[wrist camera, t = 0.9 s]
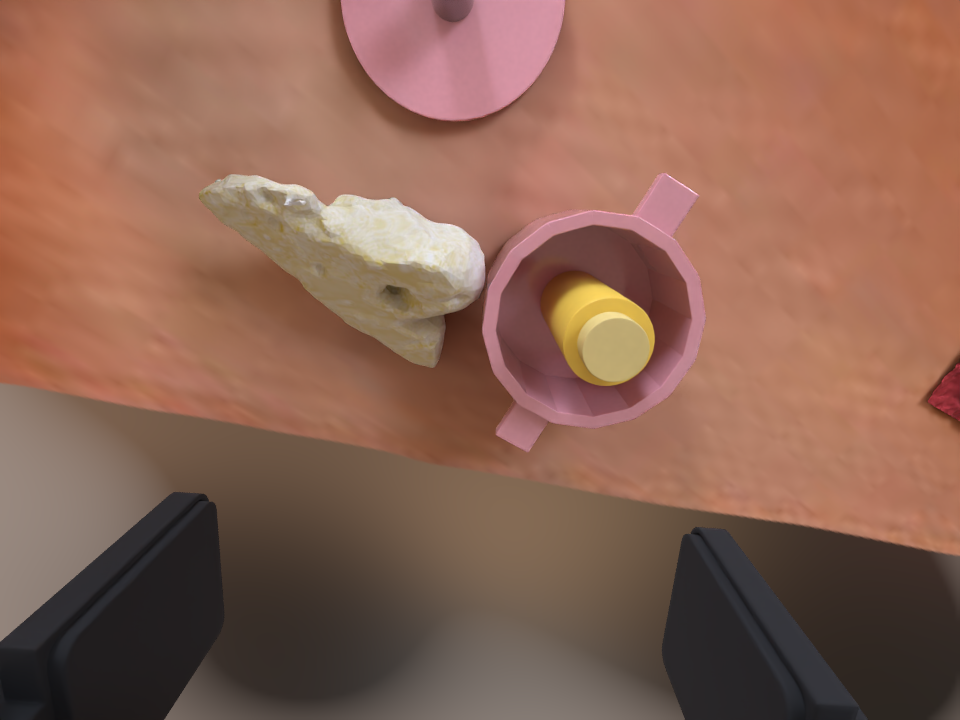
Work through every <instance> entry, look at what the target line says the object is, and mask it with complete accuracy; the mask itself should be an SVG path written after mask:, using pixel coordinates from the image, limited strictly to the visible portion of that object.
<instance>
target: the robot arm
mask: <svg viewBox="0 0 960 720" xmlns="http://www.w3.org/2000/svg"><path fill="white" fill-rule="evenodd" d="M223 622H224V603H223V590H222V577H221V563H220V549H219V536H218V523H217V509H216V505H215V504H214V503H213V502H209V500H208V498H207V496H206V495H205V494H198V493H183V492H182V493H181V492H174V493H172V494H170V495H169V496H168V497H167V498H166V499H164V500H163V501H162V502H161V503H160V504H159V505H158V506H156V507H155V508H154V509H153V510H152V511H151V512H149V513H148V514H147V515H146V516H145V517H144V518H142V519H141V520H140V521H139V522H138V523H137V524H136V525H135V526H133V527H132V528H131V529H130V530H129V531H128V532H126V533H125V534H124V535H123V536H122V537H121V538H119V540H117V541H116V542H115V543H114V544H113V545H111V546H110V547H109V548H108V549H107V550H106V551H104V552H103V553H102V554H101V555H100V556H99V557H98V558H96V559H95V560H94V561H93V562H92V563H91V564H89V565H88V566H87V567H86V568H85V569H84V570H83V571H81V572H80V573H79V574H78V575H77V576H76V577H75V578H74V579H72V580H71V581H70V582H69V583H68V584H67V585H65V586H64V587H63V588H62V589H61V590H60V591H58V592H57V593H56V594H55V595H54V596H53V597H52V598H50V599H49V600H48V601H47V602H46V603H45V604H43V605H42V606H41V607H40V608H39V609H38V610H37V611H35V612H34V613H33V614H32V615H31V616H30V617H29V618H27V619H26V620H25V621H24V622H23V623H22V624H20V626H18V627H17V628H16V629H15V630H14V631H12V632H11V633H10V634H9V635H8V636H7V637H5V638H4V639H3V640H2V641H1V642H0V720H164V719H165V717H166V716H167V714H168V713H169V711H170V710H171V708H172V707H173V705H174V703H175V702H176V700H177V699H178V697H179V696H180V694H181V693H182V691H183V690H184V688H185V686H186V685H187V683H188V682H189V680H190V679H191V677H192V676H193V674H194V673H195V671H196V670H197V668H198V666H199V665H200V663H201V662H202V660H203V659H204V657H205V656H206V654H207V653H208V651H209V650H210V648H211V646H212V645H213V643H214V642H215V640H216V639H217V637H218V635H219V633H220V632H221V629H222V626H223ZM662 656H663V662H664V665H665V668H666V671H667V674H668V676H669V679H670V681H671V684H672V686H673V689H674V692H675V694H676V697H677V699H678V702H679V704H680V707H681V710H682V712H683V715H684V718H685V720H868V719H867V718H866V716H865V715H864V714H863V712H862V711H861V710H860V708H859V706H858V704H857V703H856V702H855V700H854V699H853V698H852V696H851V695H850V694H849V692H848V691H847V690H846V688H845V687H844V686H843V684H842V683H841V682H840V680H839V679H838V678H837V676H836V675H835V674H834V673H833V671H832V670H831V668H830V667H829V666H828V664H827V663H826V662H825V661H824V659H823V658H822V656H821V655H820V654H819V652H818V651H817V650H816V648H815V647H814V646H813V645H812V643H811V642H810V640H809V639H808V638H807V637H806V635H805V634H804V632H803V631H802V630H801V629H800V627H799V626H798V624H797V623H796V622H795V620H794V619H793V618H792V616H791V615H790V614H789V612H788V611H787V610H786V608H785V607H784V606H783V605H782V603H781V602H780V601H779V599H778V598H777V596H776V595H775V594H774V593H773V591H772V590H771V588H770V587H769V586H768V584H767V583H766V582H765V581H764V579H763V578H762V576H761V575H760V574H759V573H758V571H757V570H756V569H755V567H754V566H753V564H752V563H751V562H750V560H749V559H748V558H747V557H746V555H745V554H744V552H743V551H742V550H741V548H740V547H739V546H738V544H737V543H736V542H735V540H734V539H733V538H732V537H731V535H730V534H729V532H727V531H726V530H725V529H715V528H701V527H695V528H694V529H693V530H692V532H691V534H685V535H684V536H683V538H682V542H681V547H680V553H679V558H678V563H677V569H676V574H675V579H674V585H673V590H672V595H671V601H670V606H669V612H668V617H667V622H666V628H665V633H664V639H663V644H662Z"/></svg>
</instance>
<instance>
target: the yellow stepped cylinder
mask: <svg viewBox="0 0 960 720" xmlns="http://www.w3.org/2000/svg"><path fill="white" fill-rule="evenodd" d="M541 312H542V315H543V318H544V320H545V322H546V323H547V325H548V327H549V329H550V331H551V333H552V335H553V337H554V339H555V341H556V342H557V344H558V346H559V348H560V350H561V352H562V354H563V356H564V358H565V360H566V361H567V363H568V365H569V367H570V368H571V370H572V371H573V372H574V373H575V374H576V375H577V376H578V377H580V378H581V379H583V380H584V381H586V382H589V383H591V384H595V385H600V386H612V385H618V384H621V383H624V382H626V381H628V380H630V379H632V378H633V377H635V376H636V375H637V374H639V373H640V372H641V371H642V370H643V368H644V367H645V366H646V365H647V363H648V361H649V360H650V357H651V355H652V352H653V349H654V343H655V335H654V329H653V325H652V323H651V320H650V319H649V317H648V315H647V314H646V313H645V311H644V310H643V309H642V308H640V307H639V306H638V305H636V304H635V303H633V302H632V301H630V300H629V299H627V298H626V297H624V296H623V295H621V294H619V293H618V292H616V291H615V290H613V289H612V288H610V287H609V286H607V285H605V284H604V283H602V282H601V281H599V280H598V279H596V278H595V277H593V276H591V275H590V274H588V273H585V272H582V271H567V272H564V273H561V274H559V275H557V276H556V277H554V278H553V279H552V280H551V281H550V282H549V283H548V284H547V286H546V287H545V289H544V291H543V293H542V297H541Z"/></svg>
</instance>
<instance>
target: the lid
mask: <svg viewBox="0 0 960 720" xmlns="http://www.w3.org/2000/svg"><path fill="white" fill-rule="evenodd" d="M341 8H342V16H343V20H344V24H345V29H346V32H347V35H348V38H349V41H350V44H351V46H352V48H353V51H354V53H355V55H356V57H357V59H358V61H359V62H360V64H361V65H362V67H363V68H364V70H365V72H366V73H367V75H368V76H369V77H370V78H371V79H372V80H373V82H374V83H375V84H376V85H377V86H378V88H380V89H381V90H382V91H383V92H384V93H385V94H386V95H387V96H388V97H389V98H391V99H392V100H393V101H395V102H396V103H398V104H399V105H400V106H402V107H404V108H406V109H408V110H409V111H411V112H413V113H416V114H418V115H421V116H424V117H427V118H431V119H435V120H440V121H453V122H456V121H469V120H473V119H478V118H482V117H485V116H488V115H490V114H493V113H495V112H497V111H499V110H501V109H503V108H505V107H507V106H508V105H510V104H511V103H512V102H514V101H515V100H517V99H518V98H519V97H520V96H521V95H522V94H523V93H525V92H526V91H527V90H528V89H529V88H530V87H531V85H532V84H533V83H534V82H535V81H536V79H537V78H538V77H539V76H540V74H541V72H542V71H543V69H544V68H545V66H546V65H547V63H548V61H549V59H550V57H551V55H552V52H553V50H554V48H555V46H556V43H557V40H558V37H559V34H560V31H561V26H562V21H563V17H564V8H565V0H341Z"/></svg>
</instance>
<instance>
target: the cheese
mask: <svg viewBox="0 0 960 720" xmlns="http://www.w3.org/2000/svg"><path fill="white" fill-rule="evenodd" d="M199 199H200V200H201V202H202V203H203V204H204V205H205V206H206V207H207V208H208V209H209V210H210V211H211V212H212V213H213V214H214V215H215V216H216V217H217V218H218V219H219V220H220V221H221V222H222V223H223V224H224V225H226V226H228V227H230V228H232V229H233V230H235V231H237V232H238V233H239V234H240V235H241V236H242V237H243V238H245V239H246V240H247V241H248V242H250V243H251V244H253V245H254V246H255V247H257V248H258V249H260V250H261V251H262V252H264V253H265V254H266V255H267V256H268V257H269V258H270V259H271V260H273V261H274V262H275V263H277V264H278V265H279V266H280V267H281V268H282V269H283V270H285V271H286V272H287V273H289V274H291V275H292V276H294V277H295V278H297V279H299V281H300V282H301V283H302V285H303V286H304V288H305V289H306V290H307V291H308V292H309V293H311V294H312V296H313V297H314V298H315V299H317V300H319V301H320V302H322V303H323V304H324V305H325V306H326V307H327V308H329V309H330V310H331V311H332V312H334V313H335V314H337V315H338V316H339V317H341V318H342V319H343V321H344V322H345V323H347V324H348V325H350V326H352V327H354V328H355V329H357V330H359V331H360V332H362V333H365V334H368V335H370V336H372V337H374V338H376V339H377V340H378V341H380V342H381V343H382V344H384V345H385V346H387V347H388V348H390V349H392V351H393V352H395V353H397V354H399V355H400V356H402V357H403V358H405V359H406V360H408V361H410V362H413V363H415V364H417V365H424V366H427V367H430V368H433V367H435V366H436V365H437V362H438V360H439V358H440V355H441V351H442V347H443V342H444V334H445V329H446V324H445V319H444V314H447V313H452V312H456V311H459V310H462V309H464V308H466V307H467V306H468V305H470V304H471V303H472V302H474V301H476V300H477V299H479V298H480V294H481V292H482V290H483V288H484V284H485V263H484V254H483V253H482V251H481V249H480V245H479V244H478V242H477V241H476V240H475V239H474V238H472V237H471V236H470V235H469V234H468V233H466V232H465V231H464V230H463V229H461V228H459V227H457V226H454V225H451V224H443V223H435V222H432V221H429V220H427V219H426V218H424V217H423V216H422V215H421V214H419V213H418V212H416V211H415V210H413V209H412V208H410V207H407V206H403V204H402V203H401V202H400V201H399V200H397V199H396V198H395V197H392V198H389V199H382V200H372V199H366V198H362V197H359V196H356V195H340V196H339V197H337V198H336V200H335V202H334V203H332V204H331V205H329V206H326V205H325V204H323V203H321V202H320V201H319V200H318V199H317V198H316V196H315V194H314V193H313V192H312V191H310V190H308V189H306V188H305V187H302V186H300V185H294V184H291V185H287V184H279V183H276V182H274V181H271V180H269V179H266V178H264V177H260V176H257V175H253V176H245V175H235V174H230V175H228V176H227V177H225V178H224V179H223V180H222V181H221V180H220V179H218V180H216V181H215V183H213V184H211V185H209V186H207V187H205V188H204V189H202V190H201V192H200V193H199Z"/></svg>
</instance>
